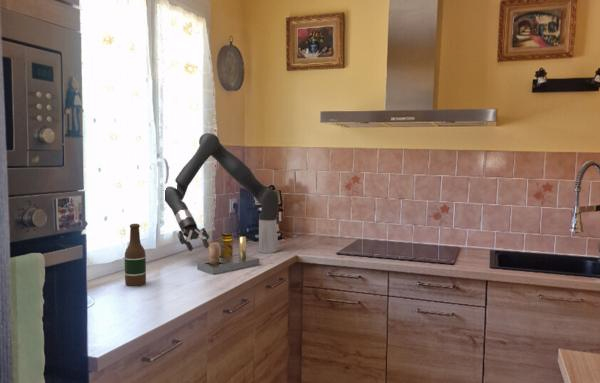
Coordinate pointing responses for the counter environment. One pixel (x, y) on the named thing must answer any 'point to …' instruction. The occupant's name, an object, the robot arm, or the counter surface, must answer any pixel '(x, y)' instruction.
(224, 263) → the bolt plate
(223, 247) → the condiment
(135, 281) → the beer bottle
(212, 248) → the walnut peg
